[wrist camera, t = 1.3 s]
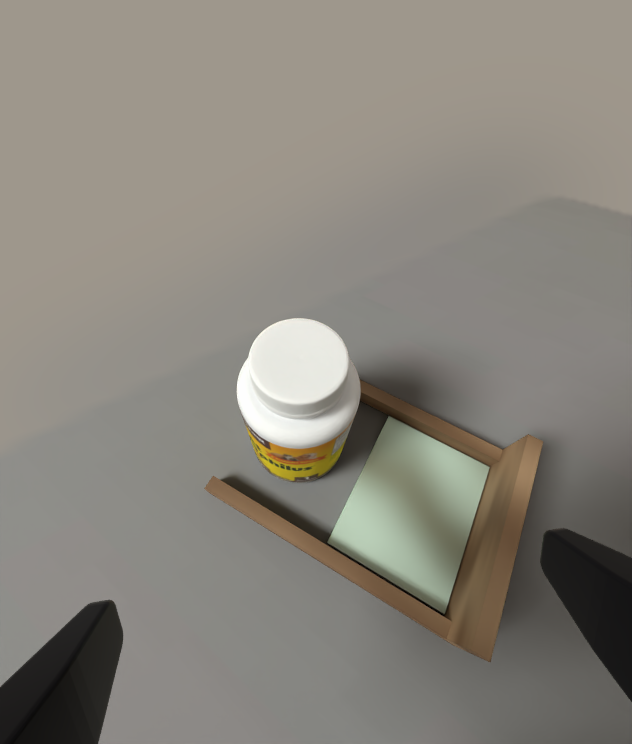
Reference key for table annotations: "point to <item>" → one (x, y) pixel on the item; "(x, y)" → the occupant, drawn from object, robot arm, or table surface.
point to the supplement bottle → (298, 398)
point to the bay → (425, 522)
